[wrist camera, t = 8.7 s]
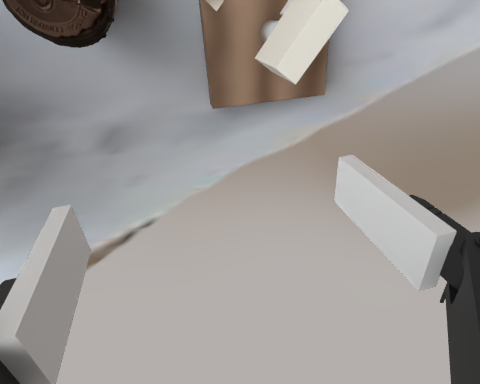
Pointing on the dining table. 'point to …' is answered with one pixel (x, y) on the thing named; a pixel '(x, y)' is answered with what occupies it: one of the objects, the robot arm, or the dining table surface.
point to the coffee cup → (65, 19)
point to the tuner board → (249, 55)
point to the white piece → (298, 36)
